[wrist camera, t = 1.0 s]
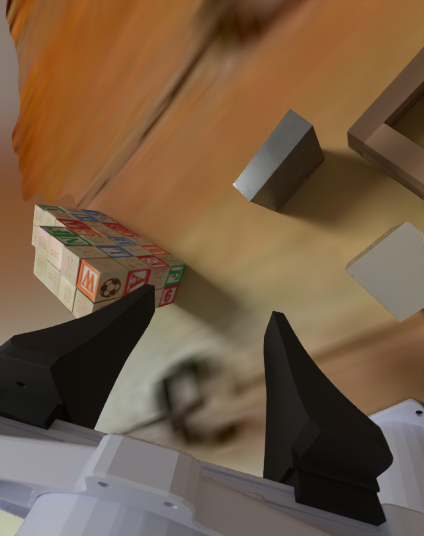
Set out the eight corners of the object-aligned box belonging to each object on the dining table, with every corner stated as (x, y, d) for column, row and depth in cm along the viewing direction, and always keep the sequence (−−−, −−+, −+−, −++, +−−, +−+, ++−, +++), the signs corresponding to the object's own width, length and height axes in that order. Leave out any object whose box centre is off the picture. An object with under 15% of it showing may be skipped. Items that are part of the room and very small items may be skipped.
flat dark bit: (324, 159, 20) (312, 125, 14) (276, 212, 23) (249, 201, 17) (308, 147, 21) (289, 108, 15) (263, 199, 23) (232, 184, 18)
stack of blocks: (92, 243, 41) (4, 243, 31) (98, 210, 39) (6, 198, 29) (174, 303, 32) (86, 332, 21) (187, 263, 30) (98, 273, 19)
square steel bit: (436, 265, 17) (478, 275, 11) (386, 297, 19) (400, 322, 13) (390, 228, 18) (407, 220, 12) (348, 262, 20) (344, 270, 14)
